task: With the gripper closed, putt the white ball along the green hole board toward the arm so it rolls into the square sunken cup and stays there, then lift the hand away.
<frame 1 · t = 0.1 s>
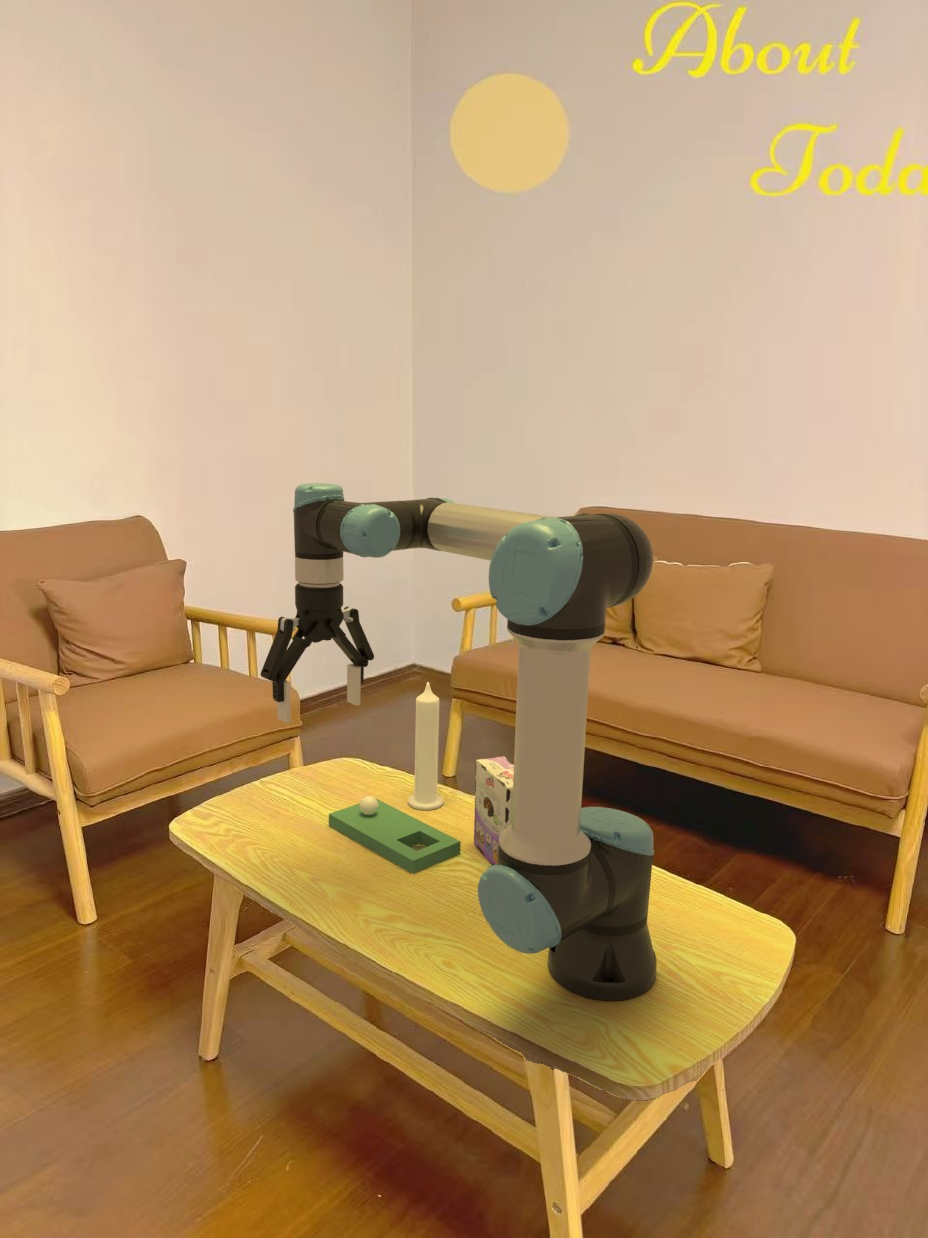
hand: (319, 711, 151), 28 cm above the table, fingers open, 13 cm apart
ball: (368, 805, 173), point 4 cm above the table, touching green hole board
candle: (425, 804, 185), on the table
candy box: (502, 859, 163), on the table
green hole board: (392, 839, 169), on the table
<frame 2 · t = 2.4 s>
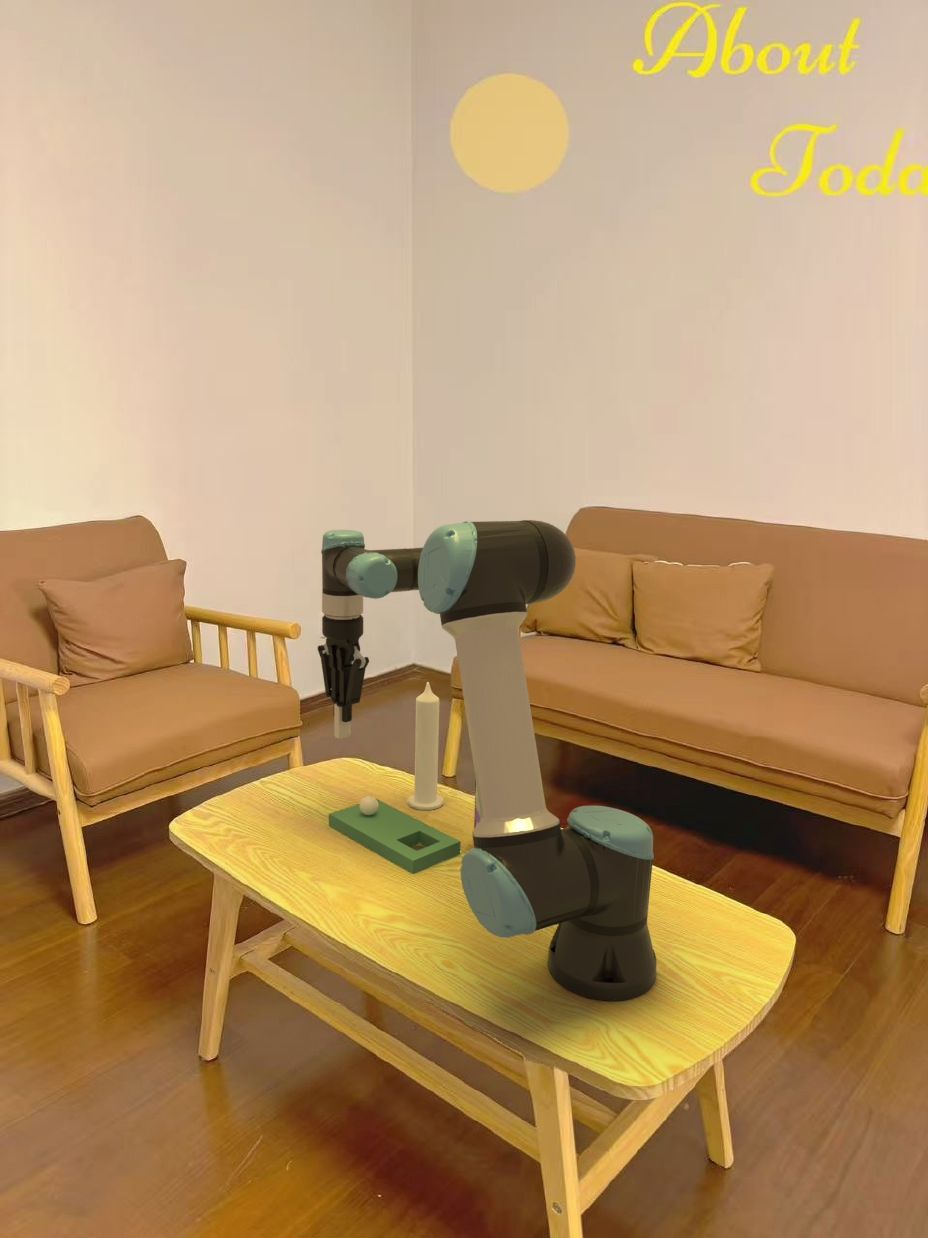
hand: (342, 736, 176), 15 cm above the table, fingers closed
nothing on the table moved.
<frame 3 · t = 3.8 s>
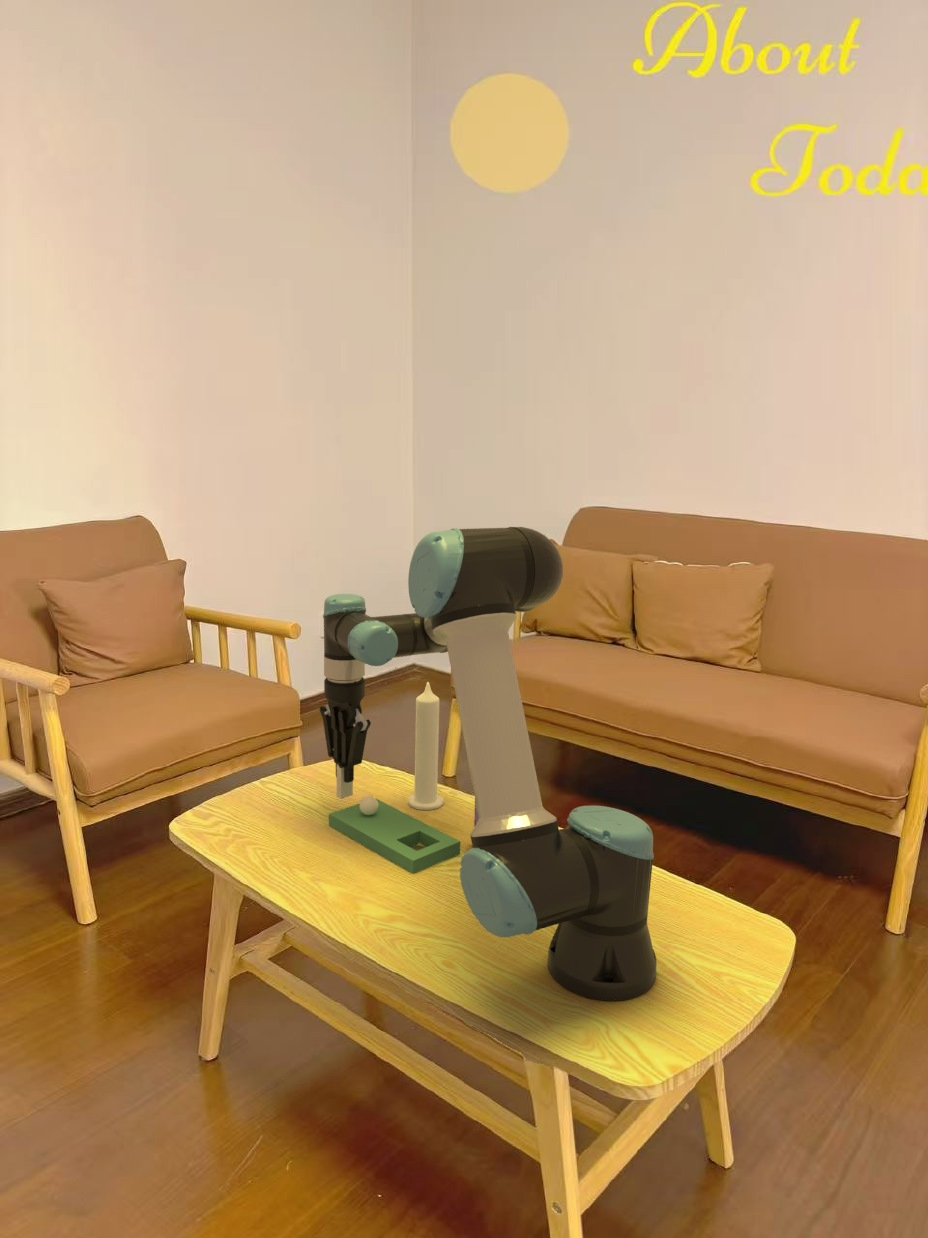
hand: (344, 795, 178), 4 cm above the table, fingers closed
nothing on the table moved.
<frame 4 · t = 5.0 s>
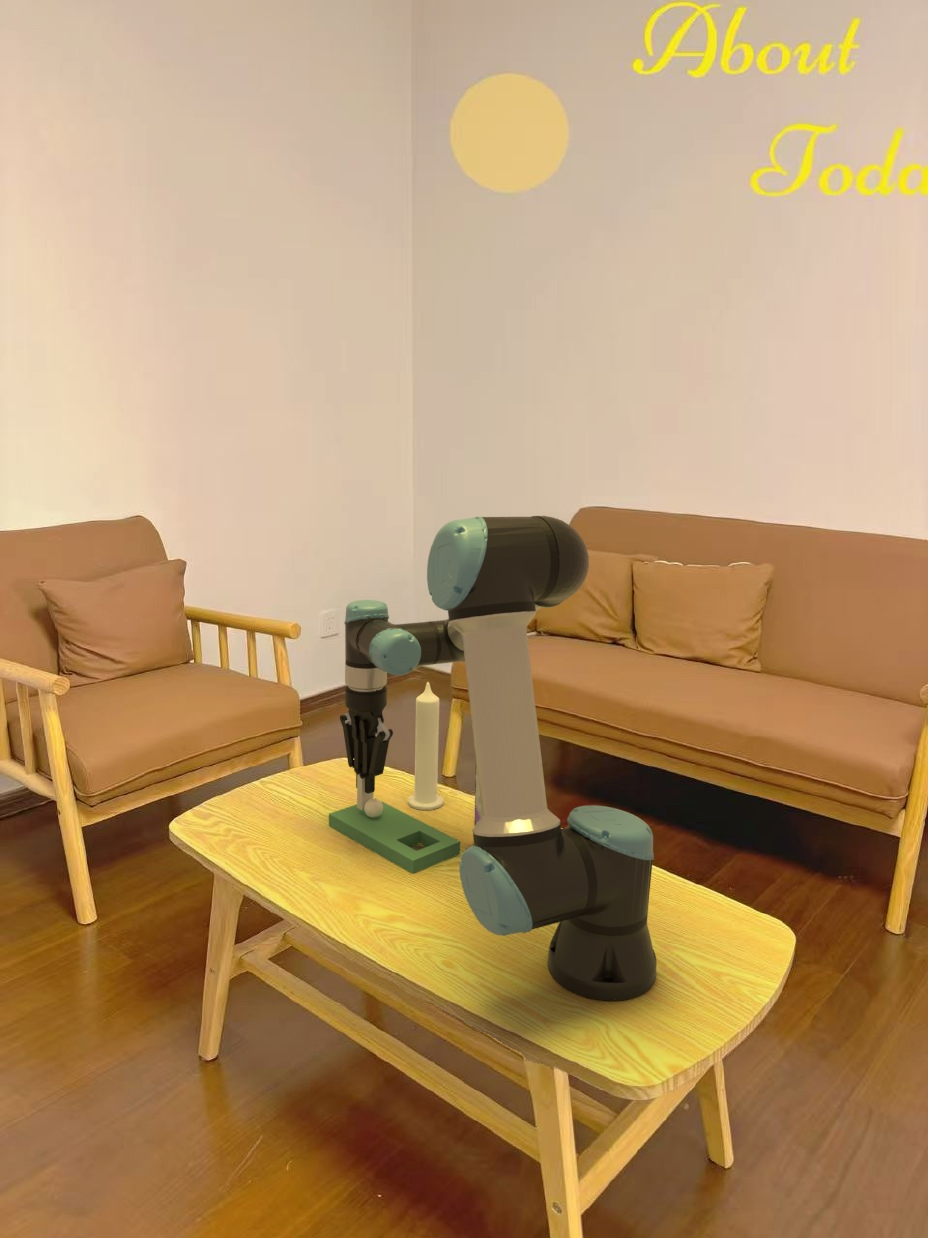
hand: (365, 806, 173), 4 cm above the table, fingers closed
ball: (373, 808, 172), point 4 cm above the table, tilted 39°, touching gripper, green hole board
everything else where it was.
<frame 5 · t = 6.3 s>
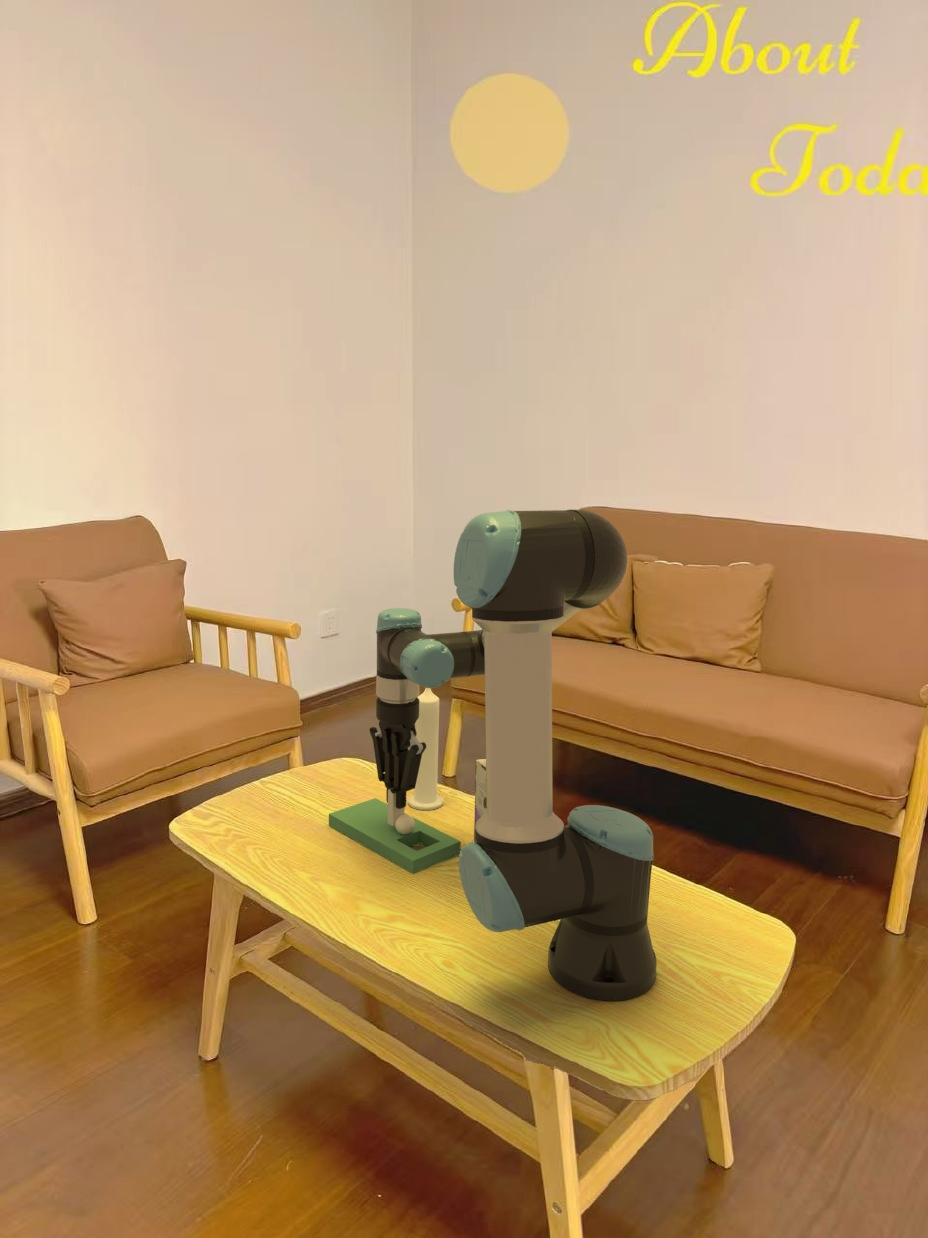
hand: (395, 822, 167), 4 cm above the table, fingers closed
ball: (405, 824, 165), point 4 cm above the table, tilted 82°, touching gripper, green hole board
everything else where it was.
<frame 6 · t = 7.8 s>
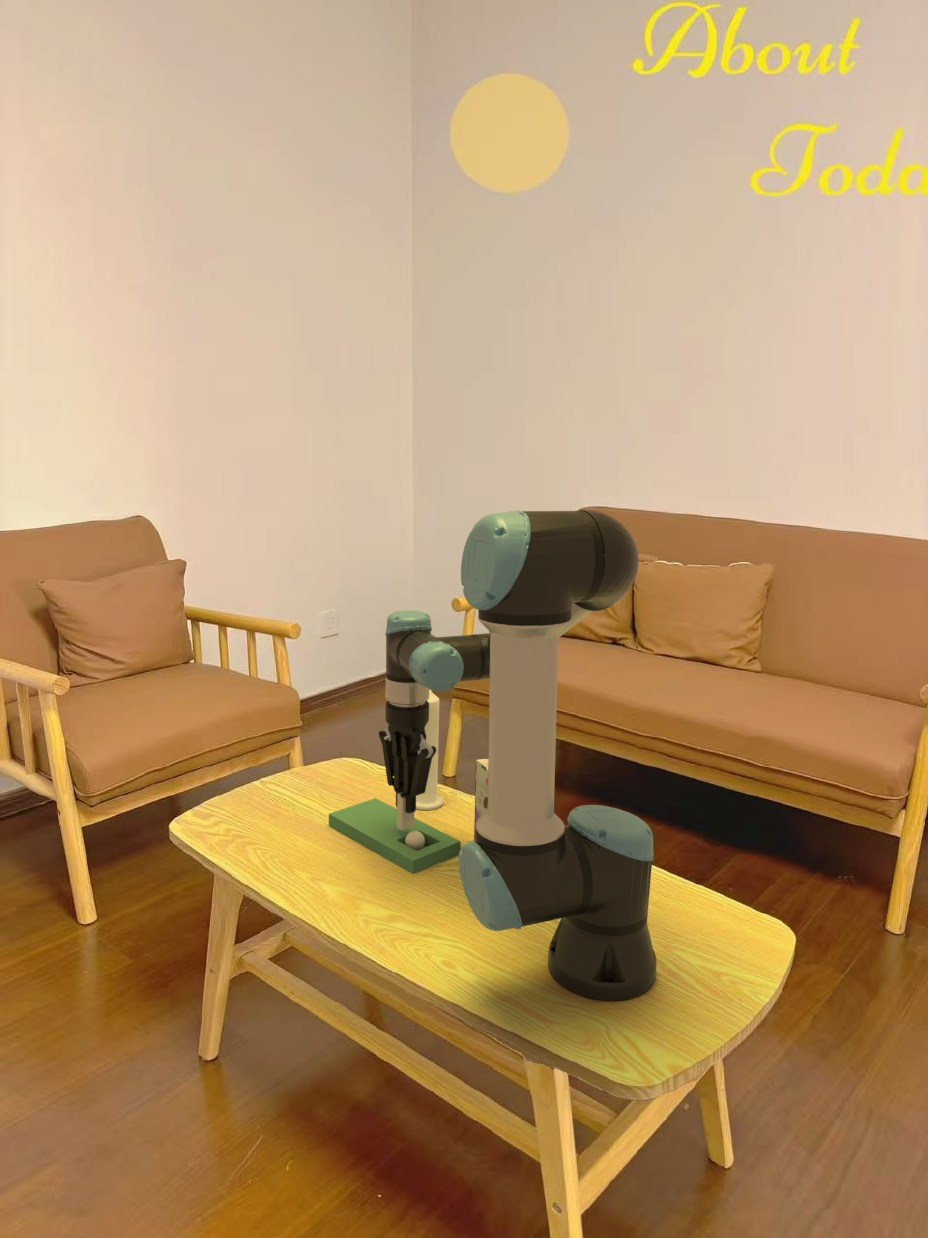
hand: (405, 827, 165), 4 cm above the table, fingers closed
ball: (414, 841, 164), point 2 cm above the table, tilted 27°, touching green hole board
everything else where it was.
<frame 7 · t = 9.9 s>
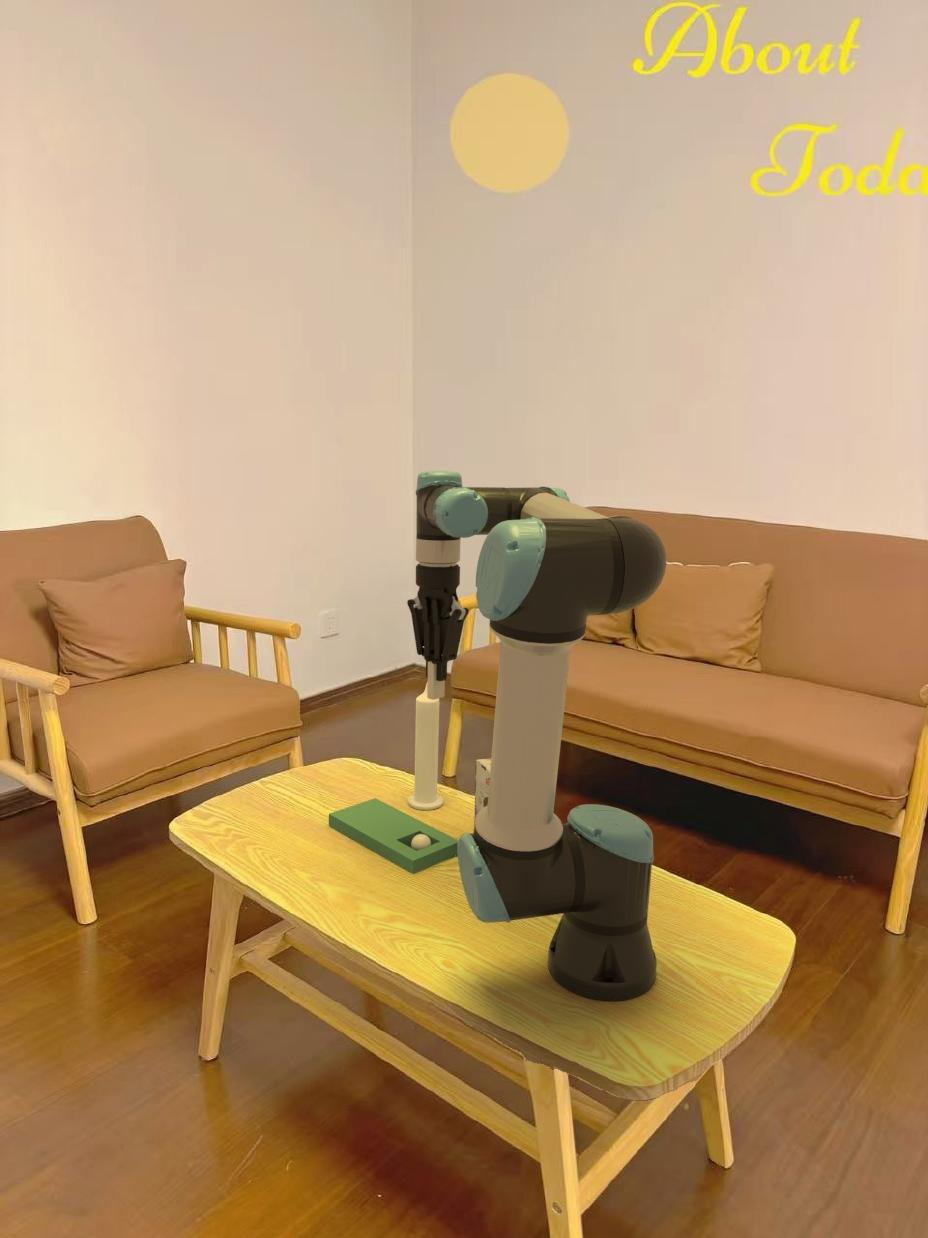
hand: (435, 697, 162), 27 cm above the table, fingers closed
ball: (421, 844, 163), point 2 cm above the table, tilted 81°, touching green hole board
everything else where it was.
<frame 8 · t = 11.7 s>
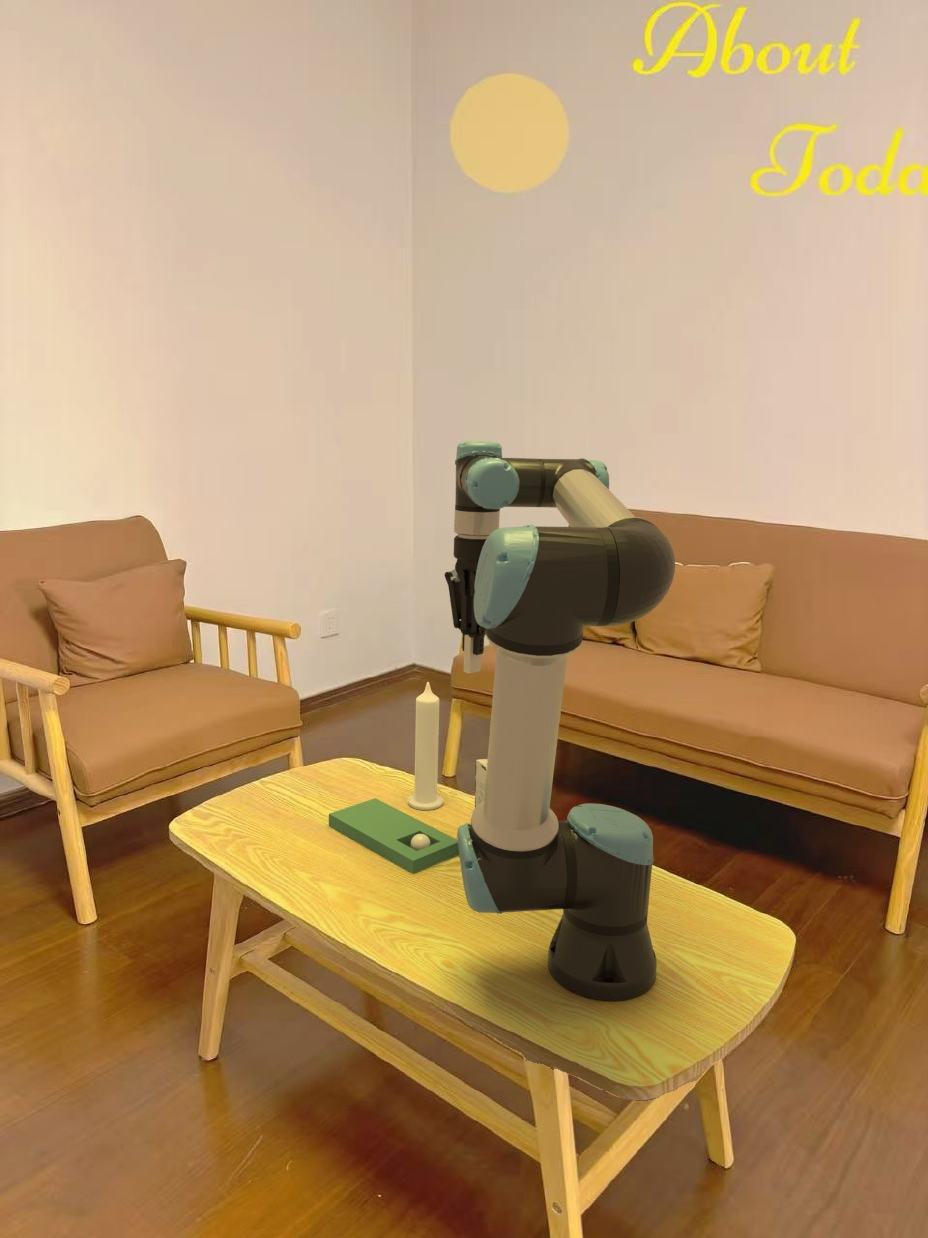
hand: (472, 671, 161), 32 cm above the table, fingers closed
nothing on the table moved.
at the end: ball 0.6 cm from the target spot on the green hole board, point 1.9 cm above the green hole board's base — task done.
